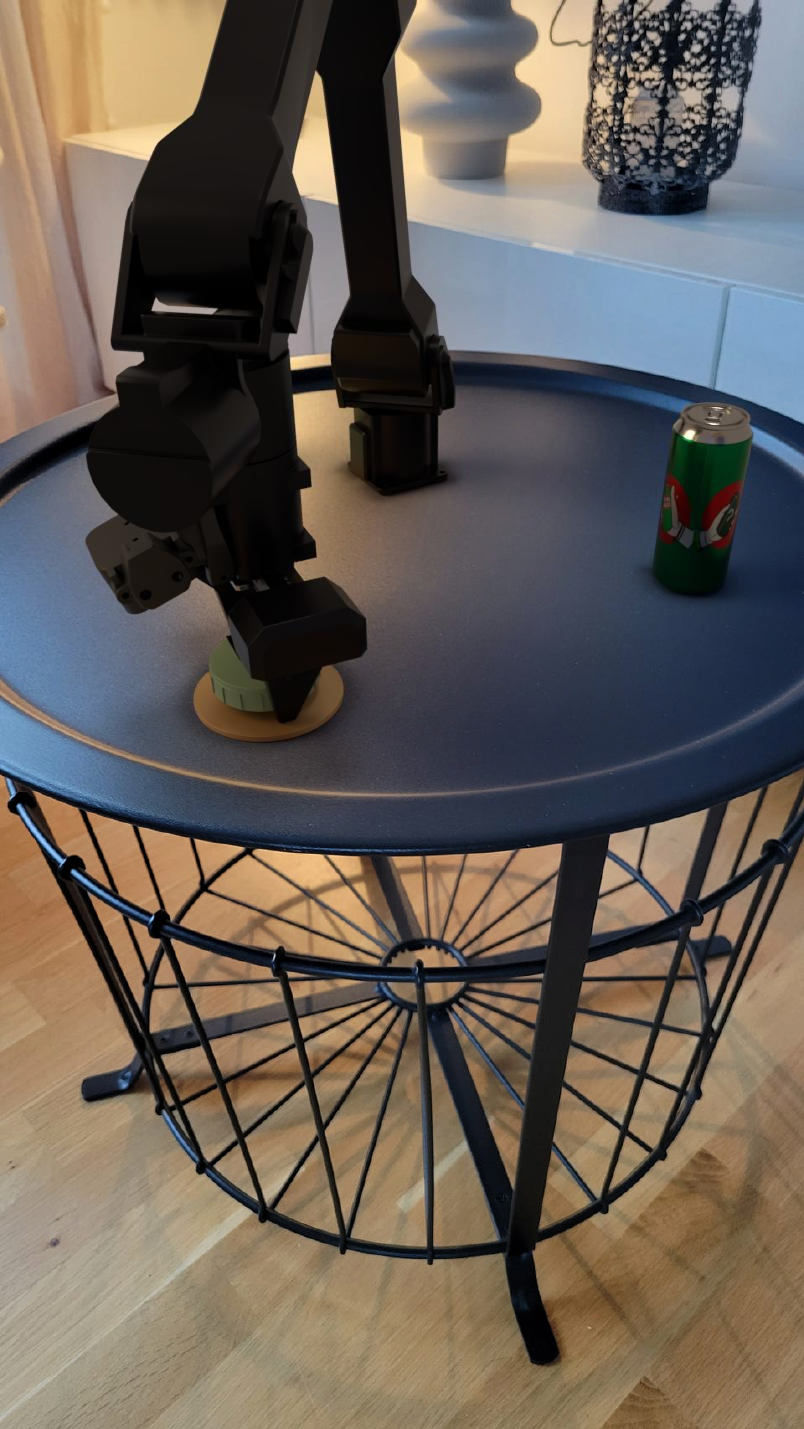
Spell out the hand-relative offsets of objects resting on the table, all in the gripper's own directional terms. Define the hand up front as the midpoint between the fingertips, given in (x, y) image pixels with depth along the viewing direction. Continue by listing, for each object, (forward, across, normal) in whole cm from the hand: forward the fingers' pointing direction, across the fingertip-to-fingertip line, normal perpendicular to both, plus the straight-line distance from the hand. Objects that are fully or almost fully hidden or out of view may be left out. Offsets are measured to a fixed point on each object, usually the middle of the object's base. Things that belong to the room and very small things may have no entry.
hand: (268, 690), depth 63 cm
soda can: (+1, -1, +31) cm, 31 cm away
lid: (-2, 0, 0) cm, 2 cm away
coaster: (0, 0, 0) cm, 0 cm away
